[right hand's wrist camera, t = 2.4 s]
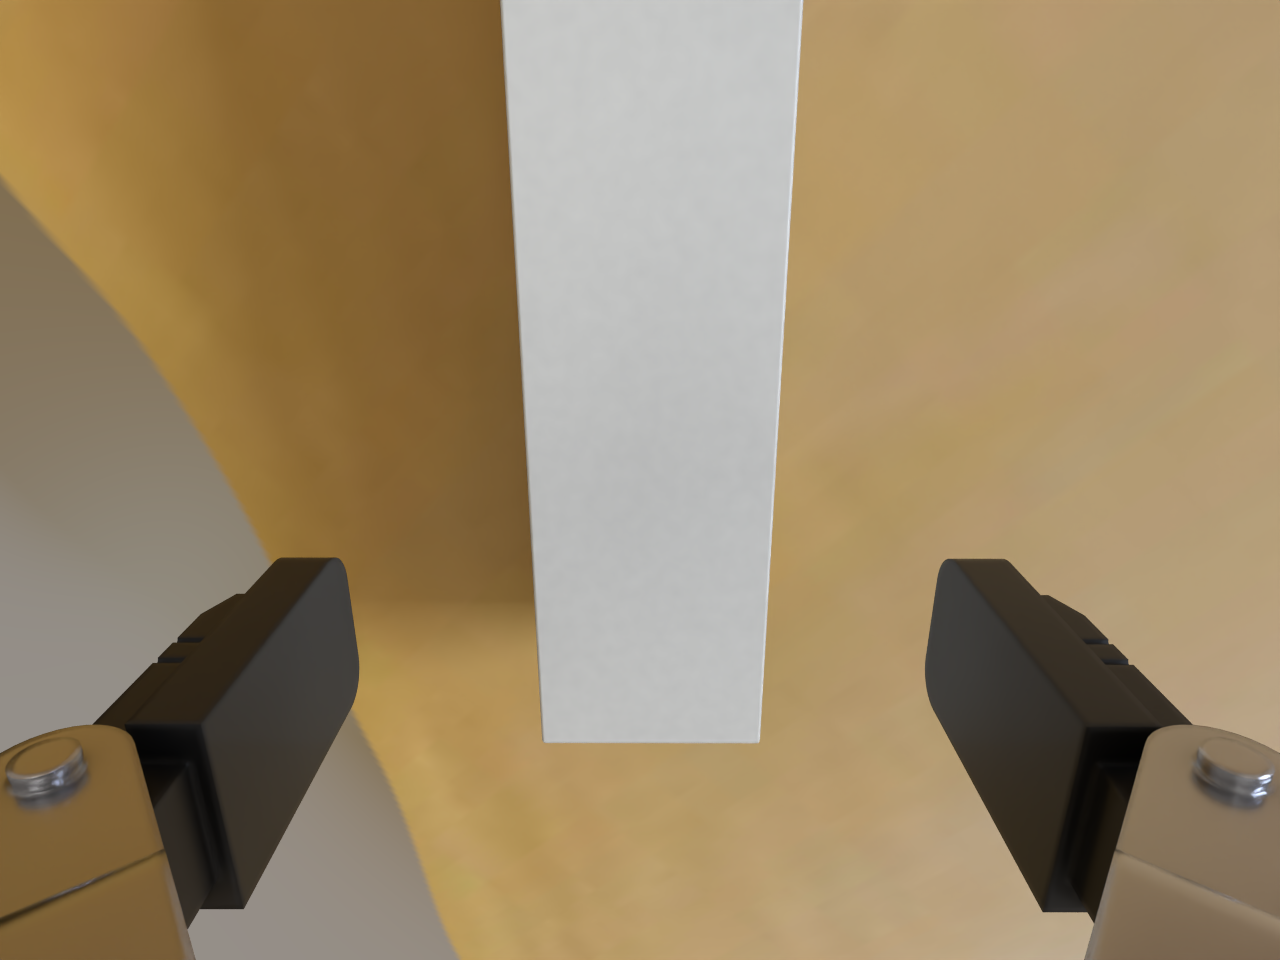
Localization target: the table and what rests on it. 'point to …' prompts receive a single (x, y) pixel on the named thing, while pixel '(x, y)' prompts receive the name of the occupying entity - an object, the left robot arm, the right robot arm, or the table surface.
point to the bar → (651, 350)
